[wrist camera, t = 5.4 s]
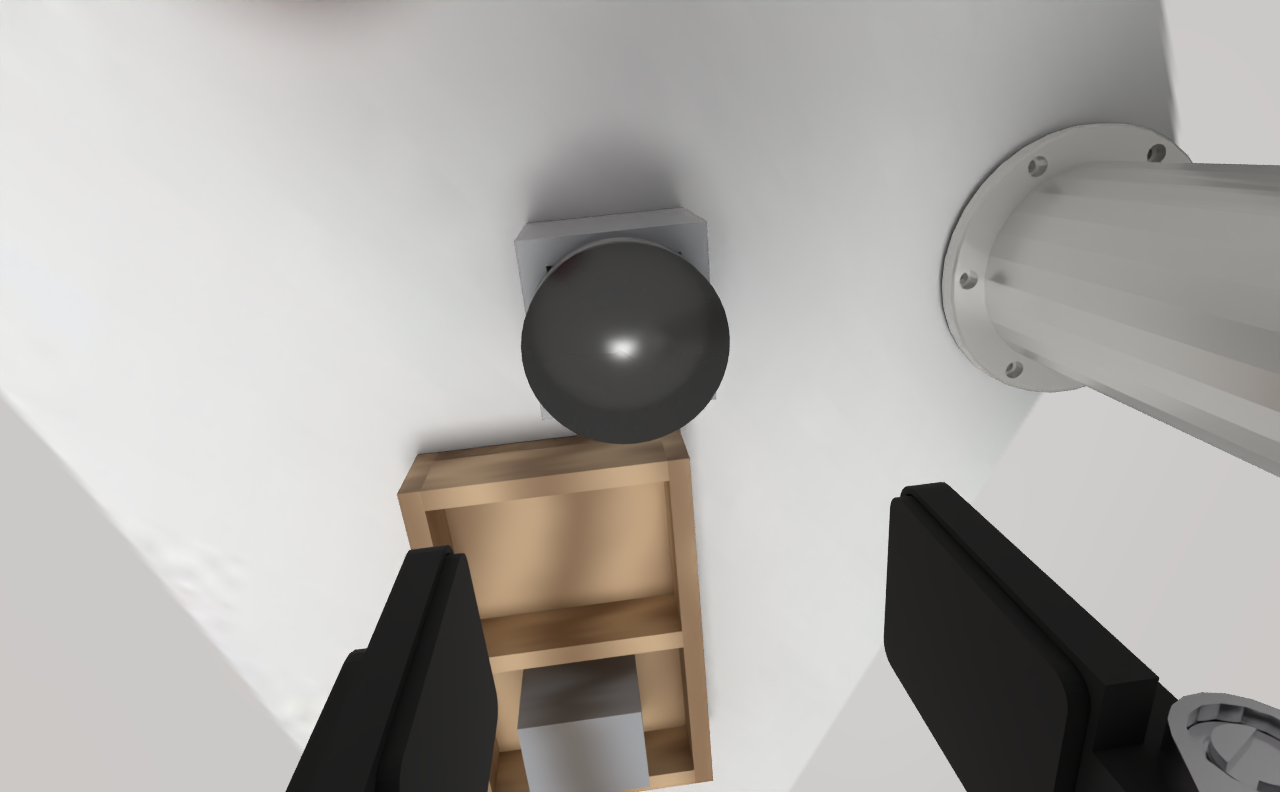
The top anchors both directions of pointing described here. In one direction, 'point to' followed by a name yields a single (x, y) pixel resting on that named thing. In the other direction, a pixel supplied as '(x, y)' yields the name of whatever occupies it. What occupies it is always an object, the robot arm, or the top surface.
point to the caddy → (579, 605)
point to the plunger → (624, 341)
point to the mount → (560, 237)
